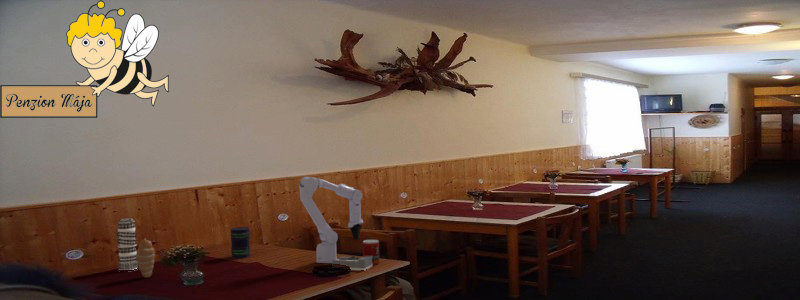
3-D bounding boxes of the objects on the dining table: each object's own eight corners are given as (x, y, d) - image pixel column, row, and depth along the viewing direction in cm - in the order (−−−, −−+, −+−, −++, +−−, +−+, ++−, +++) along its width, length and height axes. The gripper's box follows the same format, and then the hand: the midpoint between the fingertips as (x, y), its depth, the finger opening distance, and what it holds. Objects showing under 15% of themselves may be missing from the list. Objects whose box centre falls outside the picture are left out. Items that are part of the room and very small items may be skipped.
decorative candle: (113, 271, 288) (111, 219, 288) (130, 267, 297) (128, 217, 296) (126, 272, 284) (124, 220, 284) (142, 268, 292) (140, 217, 292)
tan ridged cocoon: (138, 276, 275) (136, 237, 274) (156, 274, 277) (154, 236, 277) (136, 280, 266) (135, 240, 266) (155, 278, 269) (154, 239, 269)
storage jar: (230, 256, 317) (228, 228, 317) (248, 254, 321) (247, 226, 321) (233, 259, 308) (232, 230, 308) (252, 257, 312) (251, 228, 312)
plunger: (347, 266, 276) (347, 258, 276) (353, 263, 283) (352, 255, 283) (356, 266, 275) (356, 259, 275) (361, 263, 281) (361, 256, 281)
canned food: (372, 265, 282) (372, 242, 282) (360, 264, 287) (359, 241, 287) (382, 262, 288) (382, 240, 288) (370, 261, 293) (369, 239, 293)
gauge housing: (331, 269, 278) (330, 258, 278) (339, 264, 288) (339, 254, 287) (364, 270, 273) (364, 259, 273) (372, 265, 282) (372, 255, 282)
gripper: (356, 214, 293) (357, 242, 294) (367, 211, 307) (368, 237, 307) (343, 214, 296) (344, 241, 296) (355, 210, 309) (356, 236, 310)
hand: (356, 239), depth 302 cm, fingers closed
